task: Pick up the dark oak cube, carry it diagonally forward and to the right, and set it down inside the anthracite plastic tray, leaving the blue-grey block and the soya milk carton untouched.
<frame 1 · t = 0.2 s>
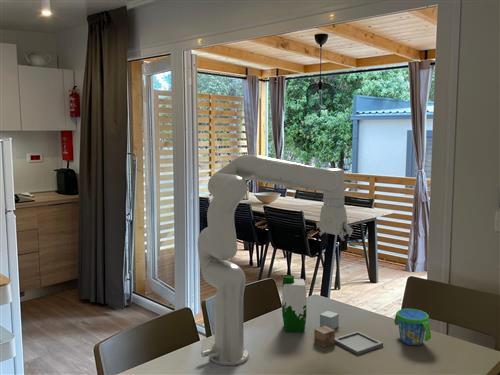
hand: (333, 248, 179), 30 cm above the table, tool pointing down, fingers open, 9 cm apart
soya milk: (294, 328, 182), on the table
tray: (357, 344, 167), on the table
snack cup: (411, 342, 169), on the table
oak cube: (324, 343, 169), on the table
bluegrey block: (329, 326, 183), on the table
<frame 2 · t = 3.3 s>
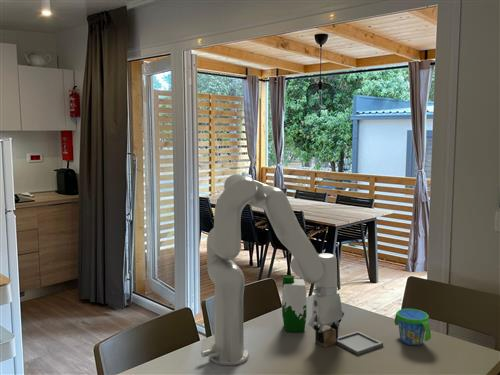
hand: (327, 338, 169), 1 cm above the table, tool pointing down, fingers open, 6 cm apart
oak cube: (325, 342, 169), on the table, touching gripper, tray
everything else where it was.
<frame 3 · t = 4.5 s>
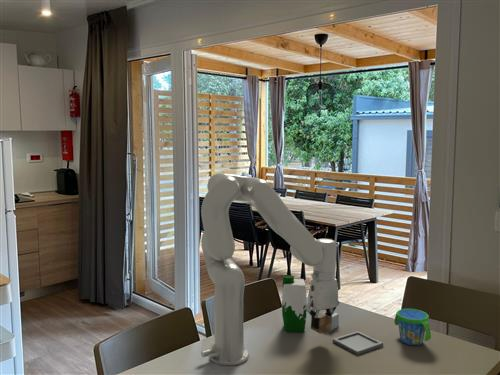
hand: (321, 325, 168), 6 cm above the table, tool pointing down, fingers closed on oak cube, 5 cm apart
oak cube: (320, 329, 168), point 5 cm above the table, touching gripper
everything else where it was.
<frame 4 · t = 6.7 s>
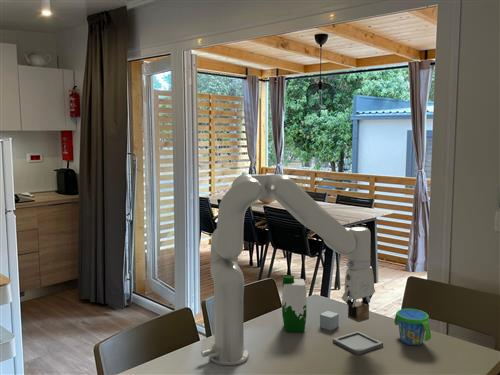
hand: (358, 314, 166), 11 cm above the table, tool pointing down, fingers closed on oak cube, 5 cm apart
oak cube: (358, 318, 167), point 9 cm above the table, touching gripper
everything else where it was.
when the fingers open (3 cm above the table, at t = 8.8 s): oak cube stays where it is, resting on tray.
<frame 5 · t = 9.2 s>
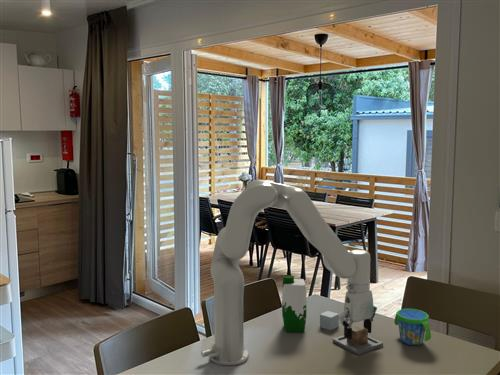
hand: (357, 334, 167), 3 cm above the table, tool pointing down, fingers open, 8 cm apart
oak cube: (357, 342, 167), point 1 cm above the table, touching tray
everything else where it was.
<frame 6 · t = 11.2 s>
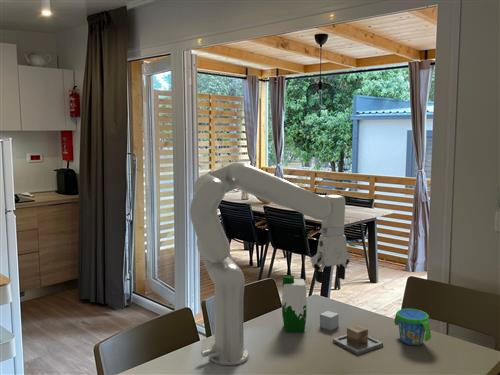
hand: (330, 280, 166), 22 cm above the table, tool pointing down, fingers open, 9 cm apart
nothing on the table moved.
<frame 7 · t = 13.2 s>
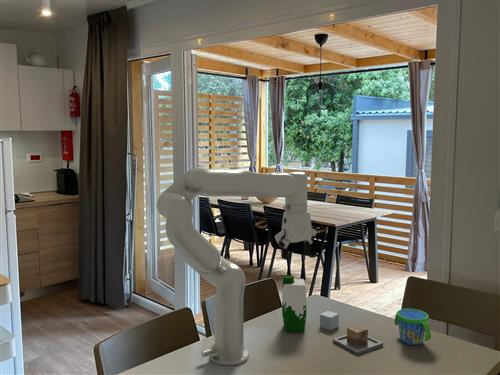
hand: (296, 256, 167), 30 cm above the table, tool pointing down, fingers open, 9 cm apart
nothing on the table moved.
at the end: oak cube inside the target area on the tray (0.1 cm from its centre), point 0.6 cm above the tray's base; oak cube tilted 0°; the gripper is holding nothing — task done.
